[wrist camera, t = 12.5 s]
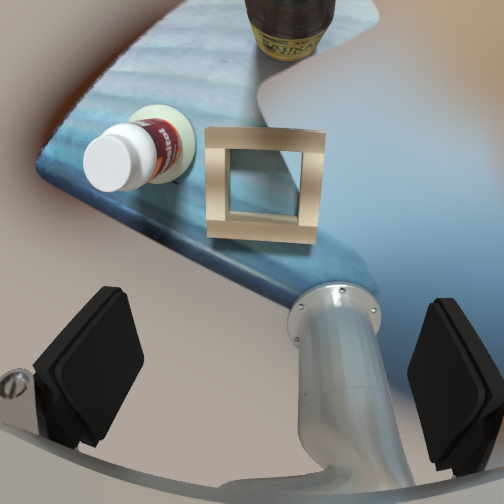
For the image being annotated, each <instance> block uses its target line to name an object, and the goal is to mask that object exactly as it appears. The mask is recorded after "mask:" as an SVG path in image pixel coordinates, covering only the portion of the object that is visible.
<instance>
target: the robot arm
mask: <svg viewBox="0 0 504 504" xmlns="http://www.w3.org/2000/svg"><path fill="white" fill-rule="evenodd" d="M287 320H288V321H287V329H288V334H289V336H290V339H291V341H292V342H293V343H294V345H295V346H296V347H297V348H298V349H299V401H298V402H299V403H298V435H299V439H300V442H301V444H302V446H303V448H304V449H305V451H306V452H307V453H308V455H309V456H310V457H311V458H312V459H313V460H314V461H315V462H316V463H317V464H319V465H320V466H321V467H322V468H323V469H324V471H321V472H316V473H310V474H306V475H299V476H289V477H275V478H255V479H241V480H234V481H230V482H228V483H225V484H223V485H221V486H220V487H218V488H215V487H208V486H202V485H196V484H191V483H186V482H181V481H176V480H171V479H167V478H162V477H158V476H154V475H151V474H147V473H143V472H139V471H136V470H132V469H129V468H125V467H122V466H119V465H116V464H112V463H109V462H106V461H103V460H100V459H98V458H95V457H92V456H89V455H86V454H84V453H81V452H79V450H78V444H79V442H80V441H81V442H82V443H84V444H87V445H89V446H92V447H96V446H97V444H98V442H99V440H100V441H101V440H103V439H104V438H105V436H106V434H107V432H108V430H109V428H110V426H111V424H112V422H113V420H114V419H115V417H116V415H117V413H118V411H119V409H120V407H121V405H122V403H123V401H124V399H125V398H126V396H127V394H128V392H129V390H130V388H131V386H132V385H133V383H134V381H135V379H136V377H137V375H138V373H139V372H140V370H141V368H142V366H143V363H144V354H143V351H142V348H141V344H140V341H139V338H138V334H137V331H136V327H135V324H134V320H133V316H132V312H131V309H130V305H129V302H128V298H127V294H126V293H124V292H123V291H122V289H121V288H119V287H109V286H104V287H102V288H101V289H100V290H99V291H98V292H97V293H96V294H95V295H94V296H93V297H92V298H91V299H90V301H89V302H88V303H87V304H86V305H85V306H84V307H83V308H82V309H81V311H79V313H78V314H77V315H76V316H75V317H74V318H73V319H72V320H71V321H70V322H69V323H68V325H67V326H66V327H65V328H64V329H63V330H62V331H61V332H60V334H59V335H58V336H57V337H56V338H55V339H54V341H53V342H52V343H51V344H50V345H49V346H48V348H47V349H46V350H45V351H44V352H43V354H42V355H41V356H40V357H39V358H38V359H37V360H36V362H35V363H34V364H33V367H34V369H35V371H36V373H35V374H34V375H32V373H31V372H30V371H28V370H26V369H22V368H18V369H13V370H10V371H8V372H6V373H5V374H3V375H2V376H1V377H0V504H504V380H503V378H502V376H501V374H500V372H499V370H498V368H497V367H496V365H495V363H494V361H493V360H492V358H491V356H490V354H489V353H488V351H487V349H486V348H485V346H484V344H483V343H482V341H481V339H480V338H479V336H478V335H477V333H476V331H475V330H474V328H473V327H472V325H471V323H470V322H469V320H468V319H467V317H466V316H465V314H464V313H463V311H462V310H461V308H460V307H459V305H458V304H457V302H456V301H455V300H454V299H453V298H437V299H435V300H434V302H433V303H430V305H429V306H428V309H427V312H426V316H425V319H424V323H423V326H422V329H421V332H420V335H419V338H418V341H417V344H416V347H415V350H414V353H413V356H412V358H411V361H410V364H409V367H408V371H407V372H408V373H407V376H408V381H409V383H410V387H411V390H412V394H413V397H414V401H415V404H416V408H417V411H418V415H419V419H420V422H421V426H422V430H423V434H424V438H425V442H426V446H427V450H428V454H429V459H430V461H431V462H432V463H435V466H436V471H441V470H446V469H450V468H452V471H453V477H452V478H451V479H449V480H445V481H440V482H435V483H429V484H424V485H418V486H416V484H415V481H414V478H413V475H412V473H411V470H410V467H409V464H408V462H407V459H406V456H405V452H404V449H403V446H402V442H401V438H400V434H399V430H398V426H397V421H396V417H395V412H394V408H393V403H392V399H391V395H390V390H389V386H388V382H387V378H386V374H385V370H384V366H383V362H382V358H381V354H380V351H379V347H378V343H377V339H376V334H377V332H378V330H379V328H380V324H381V312H380V308H379V305H378V303H377V300H376V299H375V297H374V296H373V295H372V294H371V293H370V292H369V291H368V290H367V289H365V288H363V287H361V286H360V285H357V284H354V283H350V282H342V281H336V282H328V283H323V284H320V285H317V286H315V287H312V288H311V289H309V290H307V291H306V292H304V293H303V294H302V295H301V296H300V297H298V298H297V300H296V301H295V302H294V303H293V305H292V307H291V309H290V311H289V315H288V319H287Z"/></svg>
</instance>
